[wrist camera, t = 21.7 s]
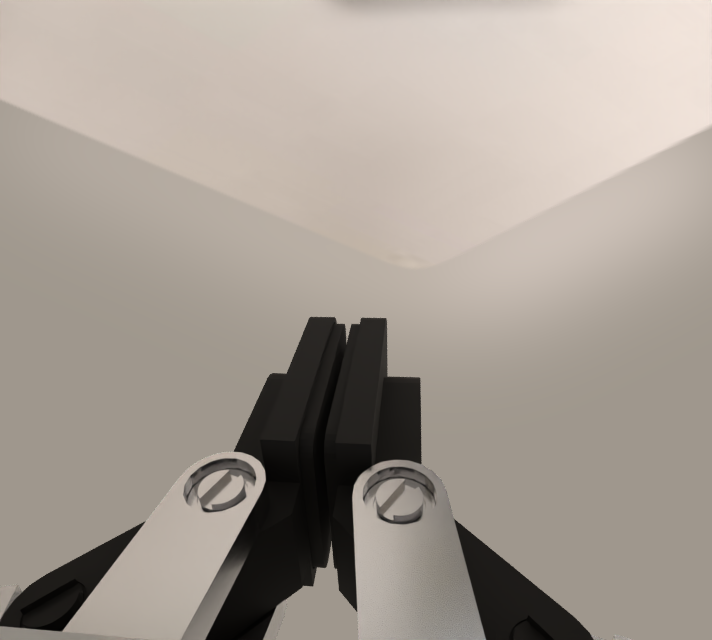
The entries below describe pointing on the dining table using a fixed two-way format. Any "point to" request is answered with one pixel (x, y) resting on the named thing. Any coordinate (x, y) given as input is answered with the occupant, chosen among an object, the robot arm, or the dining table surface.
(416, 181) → the dining table surface
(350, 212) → the dining table surface
